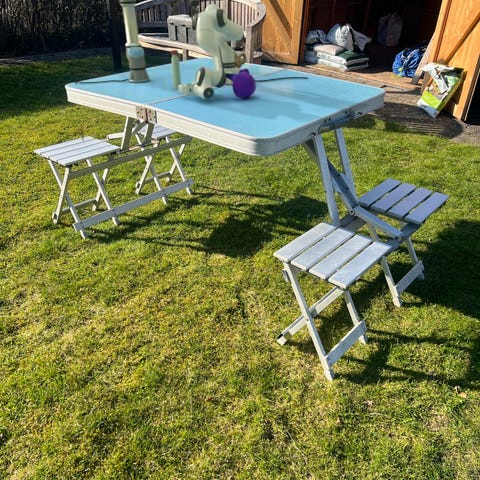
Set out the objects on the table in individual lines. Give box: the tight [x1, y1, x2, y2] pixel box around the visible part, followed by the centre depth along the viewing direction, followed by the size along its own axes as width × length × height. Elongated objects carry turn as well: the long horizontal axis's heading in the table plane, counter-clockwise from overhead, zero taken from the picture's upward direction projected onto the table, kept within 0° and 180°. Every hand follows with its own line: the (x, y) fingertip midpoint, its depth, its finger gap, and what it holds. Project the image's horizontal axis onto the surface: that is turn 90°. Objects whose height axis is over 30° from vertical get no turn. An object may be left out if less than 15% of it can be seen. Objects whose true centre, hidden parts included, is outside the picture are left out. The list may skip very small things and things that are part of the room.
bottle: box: [171, 54, 182, 90], centre depth 308 cm, size 5×5×24 cm
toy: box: [225, 68, 257, 99], centre depth 286 cm, size 16×18×27 cm
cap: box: [170, 49, 179, 56], centre depth 302 cm, size 4×4×2 cm
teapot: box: [234, 50, 247, 69], centre depth 367 cm, size 21×12×15 cm, turn 120°
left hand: (196, 30), depth 347 cm, fingers open, 13 cm apart
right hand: (189, 84), depth 294 cm, fingers open, 8 cm apart
